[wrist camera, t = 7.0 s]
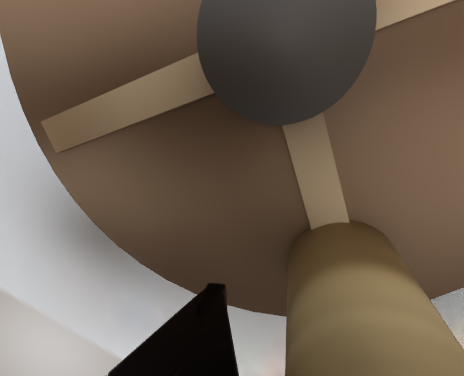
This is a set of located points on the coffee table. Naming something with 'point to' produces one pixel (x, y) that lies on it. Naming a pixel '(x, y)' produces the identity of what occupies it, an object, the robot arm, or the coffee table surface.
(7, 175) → the coffee table surface
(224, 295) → the robot arm
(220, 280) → the handwheel
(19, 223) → the coffee table surface
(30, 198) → the coffee table surface
